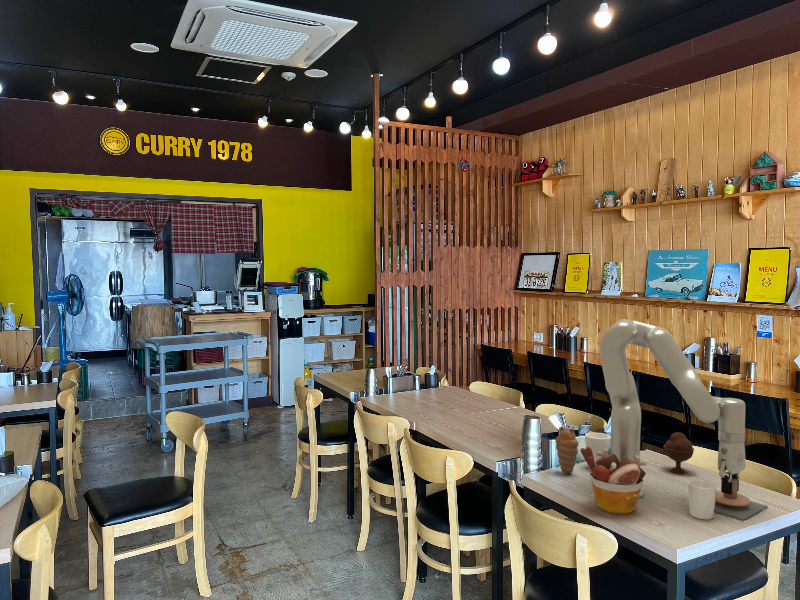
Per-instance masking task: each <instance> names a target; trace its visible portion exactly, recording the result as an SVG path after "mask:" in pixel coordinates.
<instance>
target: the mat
mask: <svg viewBox="0 0 800 600" xmlns="http://www.w3.org/2000/svg"><path fill="white" fill-rule="evenodd" d="M767 507H768V508H769V505H767V504H766V505H765V504H763V503H758V502H755V501H752V500H750V504H749V505H747V506H730V505H725V504H721V503H718V502H716V501H715V508H714V513H715V514H719V515H722V516H725V515H726V517H728V516H729V518H733V519H735V518H736V520H738V519H739V520H738V521H741V520H742V522H745V521H747V520H748V519H750V518H752V517H754V516H755V514H756V513H757V514H759V513H761V512H763V511H764V510H763V509H765V508H766V509H768V508H767ZM766 509H765V510H766ZM762 510H763V511H762ZM760 511H761V512H760ZM758 512H759V513H758ZM757 514H756V515H757ZM753 515H754V516H753ZM751 516H752V517H751ZM749 517H750V518H749ZM746 519H747V520H746ZM744 520H745V521H744Z"/></svg>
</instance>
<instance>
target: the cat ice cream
mask: <svg viewBox="0 0 800 600" xmlns="http://www.w3.org/2000/svg"><path fill="white" fill-rule="evenodd" d="M574 430H575V429H574V428H565V427H563V425H561V426H560V432H559V434H558V436H556V437H555V440H554V441H555V444H556V446H555V449H556V451H557V452H556V453H557V454H556V455H557V458H558V464H559V466H560V470H561V472H562V473H564V474H565V475H571V474H572V473H573V472H574V468H575V465H576V461H577V457H578V456H577V455H578V453H579V449H578V446H579V441H578V439H577V437H576V436H577V435H576V433H575V431H574Z"/></svg>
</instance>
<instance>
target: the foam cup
mask: <svg viewBox="0 0 800 600" xmlns="http://www.w3.org/2000/svg"><path fill="white" fill-rule="evenodd" d="M584 436H585V438H584V441H585V446H586V447H590V448H591V449H592V453H593V457H594V461H595V462H596V461H597V460H598V459H600V458H601V456H597V455H596V453H597V452H598V451H601V452H602V453H603V449H605V448H607V449H608V453H607V455H609V451H610V450H609V449H610V446H611V435H609V434H607V433H602V432H587V433H585V435H584ZM595 465H596V463H595ZM596 466H597V465H596Z"/></svg>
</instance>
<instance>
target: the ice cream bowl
mask: <svg viewBox="0 0 800 600" xmlns="http://www.w3.org/2000/svg"><path fill="white" fill-rule="evenodd" d="M662 448H663V451H664V454H665V455H666V456H667V457H668V458H669V459H670V460H673V461H674V462H675V466H674V467H672V468H671V469H670V472H671V473H672V474H676V475H686V470H685V469H683V468H682V465H681V464H682V463H683V462H686V461H688V460H690V459H691V458H692V457H693V455H694V451H695V448H694V447H693V444H692V441H691V440H689V439H688V438H687V436H686V435H685V434H684V433H682V432H678V431H677V432H673V433H672V434H671V435H670V437H669V439H668V440H666V441H665V444H663V446H662Z"/></svg>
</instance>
